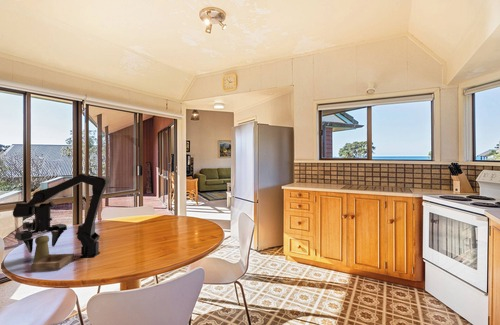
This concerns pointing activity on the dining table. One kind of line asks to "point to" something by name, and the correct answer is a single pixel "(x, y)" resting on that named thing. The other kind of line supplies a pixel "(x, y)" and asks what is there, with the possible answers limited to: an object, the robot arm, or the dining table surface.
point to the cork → (41, 247)
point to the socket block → (52, 262)
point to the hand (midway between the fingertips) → (42, 249)
